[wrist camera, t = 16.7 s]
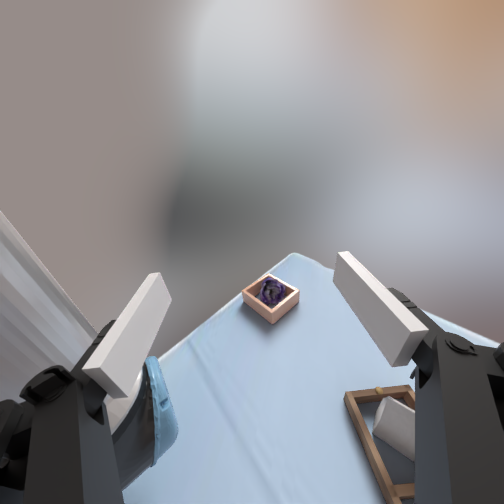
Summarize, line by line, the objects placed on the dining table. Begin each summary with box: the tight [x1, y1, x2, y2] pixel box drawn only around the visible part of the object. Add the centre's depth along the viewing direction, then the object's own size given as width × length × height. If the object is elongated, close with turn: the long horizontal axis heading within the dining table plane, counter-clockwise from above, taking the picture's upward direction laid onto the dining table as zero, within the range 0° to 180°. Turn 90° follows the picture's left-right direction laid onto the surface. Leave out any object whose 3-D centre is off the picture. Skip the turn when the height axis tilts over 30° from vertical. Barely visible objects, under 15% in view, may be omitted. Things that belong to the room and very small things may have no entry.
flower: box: [260, 278, 286, 305], centre depth 63 cm, size 9×9×10 cm
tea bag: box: [372, 396, 415, 463], centre depth 29 cm, size 4×7×10 cm, turn 52°
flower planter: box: [242, 273, 300, 325], centre depth 62 cm, size 13×14×5 cm
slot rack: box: [344, 385, 415, 504], centre depth 26 cm, size 24×12×3 cm, turn 3°
